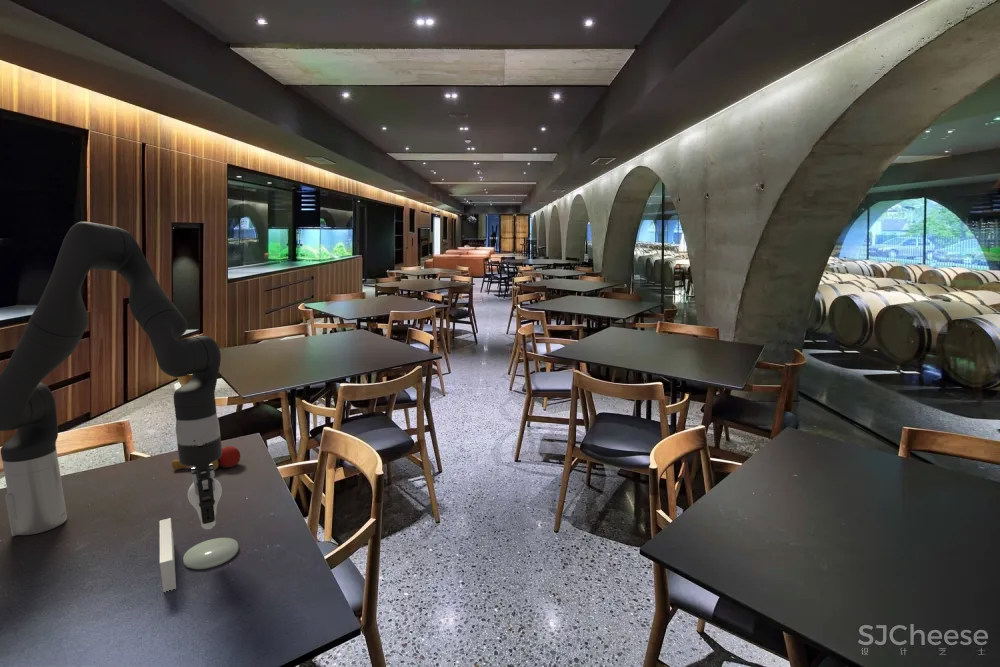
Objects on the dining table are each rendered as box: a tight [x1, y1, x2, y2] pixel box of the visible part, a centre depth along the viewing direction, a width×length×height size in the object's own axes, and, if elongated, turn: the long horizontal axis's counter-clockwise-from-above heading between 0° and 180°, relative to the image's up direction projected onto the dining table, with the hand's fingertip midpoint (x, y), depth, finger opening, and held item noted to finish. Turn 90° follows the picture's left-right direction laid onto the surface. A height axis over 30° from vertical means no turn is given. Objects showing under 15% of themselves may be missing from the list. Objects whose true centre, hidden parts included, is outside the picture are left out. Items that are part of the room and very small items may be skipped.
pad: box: [183, 537, 239, 570], centre depth 109 cm, size 10×10×1 cm
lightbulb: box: [187, 477, 223, 531], centre depth 108 cm, size 6×6×11 cm
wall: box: [159, 517, 177, 593], centre depth 105 cm, size 2×18×6 cm, turn 33°
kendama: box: [171, 445, 241, 471], centre depth 152 cm, size 8×6×18 cm
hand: (207, 515), depth 108 cm, fingers closed on lightbulb, 5 cm apart
